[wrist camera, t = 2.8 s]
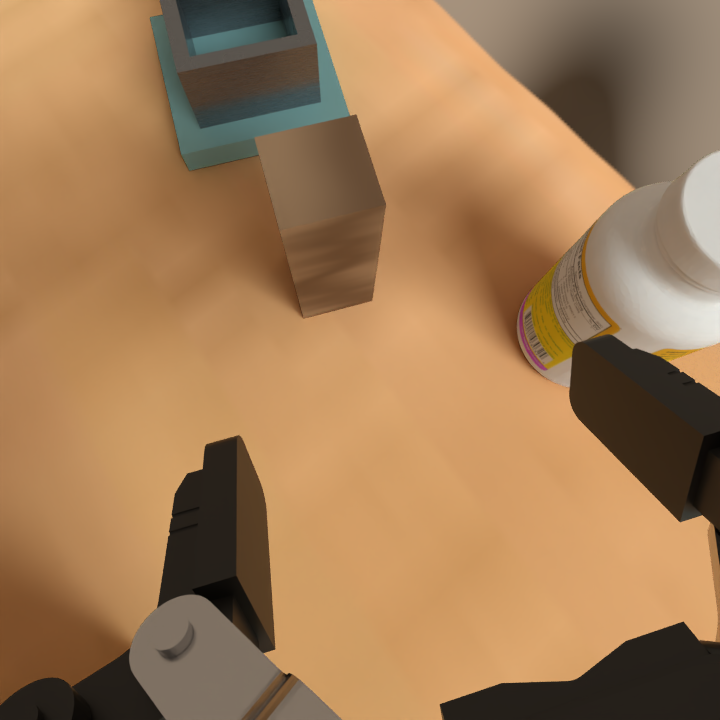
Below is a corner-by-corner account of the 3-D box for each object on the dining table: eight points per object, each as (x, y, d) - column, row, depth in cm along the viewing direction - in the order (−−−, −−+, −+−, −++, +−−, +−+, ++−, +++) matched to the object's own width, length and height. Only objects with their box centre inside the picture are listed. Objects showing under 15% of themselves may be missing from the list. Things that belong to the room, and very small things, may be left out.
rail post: (303, 318, 27) (279, 230, 17) (286, 254, 28) (254, 137, 18) (372, 300, 27) (385, 204, 18) (352, 238, 28) (356, 114, 19)
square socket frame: (200, 128, 28) (176, 72, 24) (176, 30, 30) (150, -37, 26) (320, 102, 29) (316, 43, 25) (291, 7, 30) (283, -62, 26)
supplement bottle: (647, 315, 28) (895, 182, 15) (599, 413, 26) (829, 357, 14) (543, 257, 28) (697, 86, 16) (491, 351, 27) (615, 243, 14)
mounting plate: (189, 170, 29) (181, 154, 28) (159, 38, 31) (149, 17, 30) (349, 134, 30) (350, 116, 28) (309, 8, 32) (307, -15, 31)
